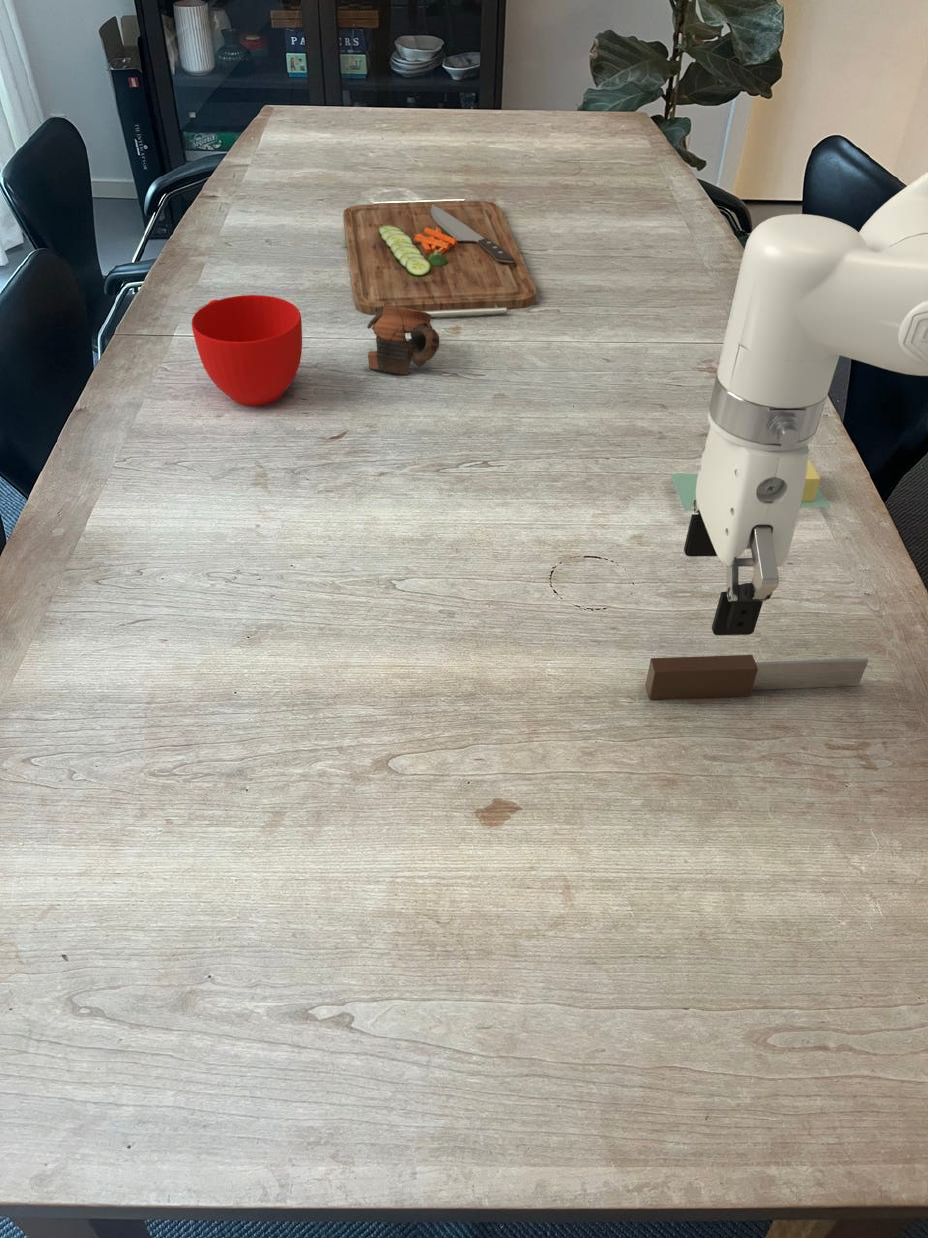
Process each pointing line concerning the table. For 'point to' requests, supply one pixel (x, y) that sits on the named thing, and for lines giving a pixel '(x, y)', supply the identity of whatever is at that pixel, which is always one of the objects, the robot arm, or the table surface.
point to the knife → (745, 675)
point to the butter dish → (687, 492)
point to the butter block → (810, 483)
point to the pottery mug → (401, 339)
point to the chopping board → (435, 258)
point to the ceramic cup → (249, 346)
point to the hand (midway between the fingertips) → (716, 591)
